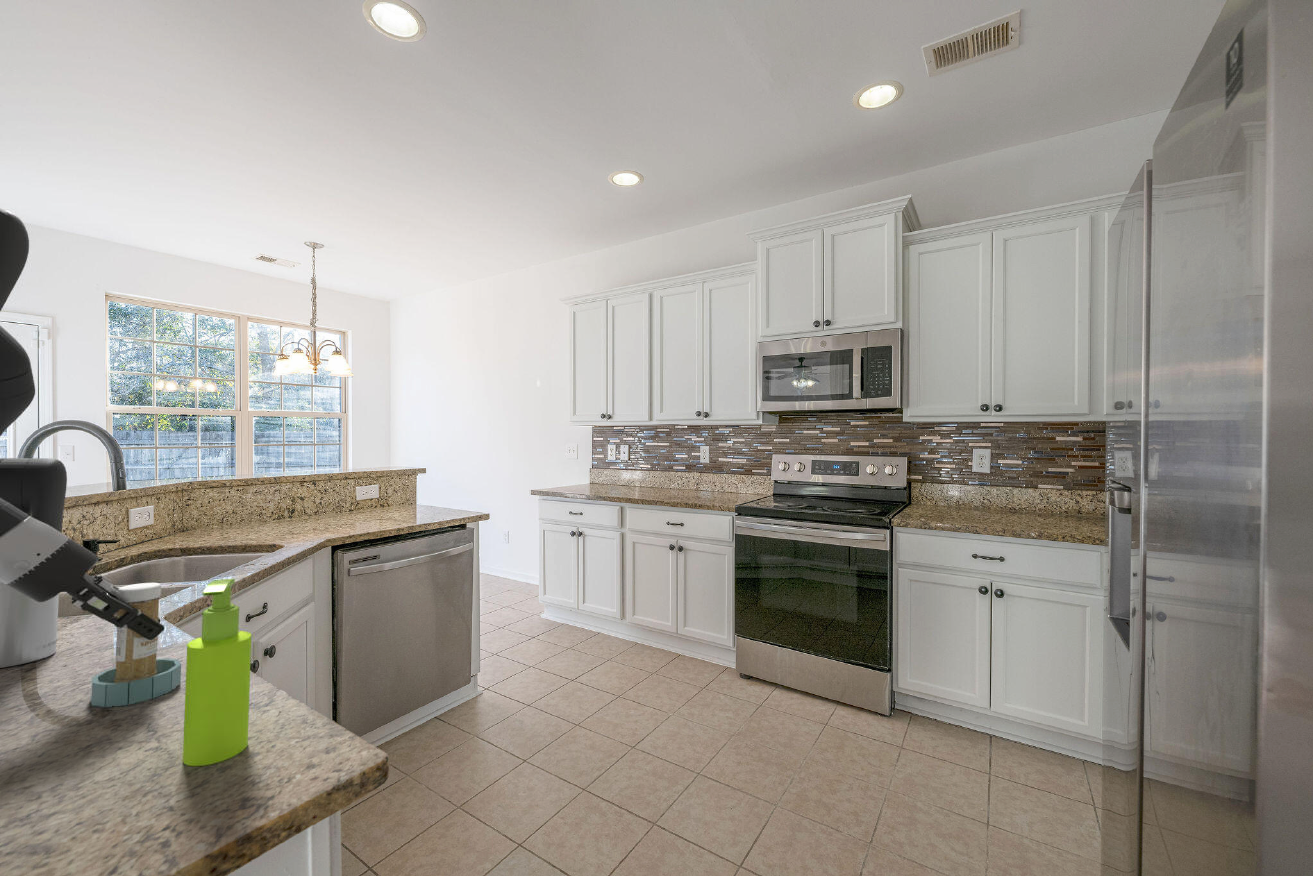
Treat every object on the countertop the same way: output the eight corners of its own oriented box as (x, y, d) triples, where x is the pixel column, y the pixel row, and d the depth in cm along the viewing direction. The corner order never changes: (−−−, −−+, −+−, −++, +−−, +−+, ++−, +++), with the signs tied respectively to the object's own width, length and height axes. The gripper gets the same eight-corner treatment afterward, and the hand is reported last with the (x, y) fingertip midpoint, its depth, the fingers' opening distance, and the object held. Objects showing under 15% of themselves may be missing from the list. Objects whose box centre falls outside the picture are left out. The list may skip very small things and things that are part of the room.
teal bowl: (73, 710, 72) (74, 688, 72) (117, 682, 81) (118, 662, 81) (158, 701, 75) (159, 680, 75) (192, 675, 83) (192, 655, 83)
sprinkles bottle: (153, 681, 77) (157, 586, 77) (108, 688, 74) (113, 590, 75) (160, 670, 81) (164, 580, 81) (118, 676, 78) (122, 583, 79)
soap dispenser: (171, 776, 58) (179, 590, 58) (191, 745, 64) (198, 577, 64) (239, 763, 61) (245, 585, 61) (252, 734, 67) (257, 572, 67)
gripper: (67, 543, 68) (188, 618, 76) (66, 530, 77) (174, 599, 86) (-2, 592, 64) (135, 666, 72) (6, 573, 73) (126, 640, 82)
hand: (156, 629), depth 79 cm, fingers closed on sprinkles bottle, 4 cm apart
